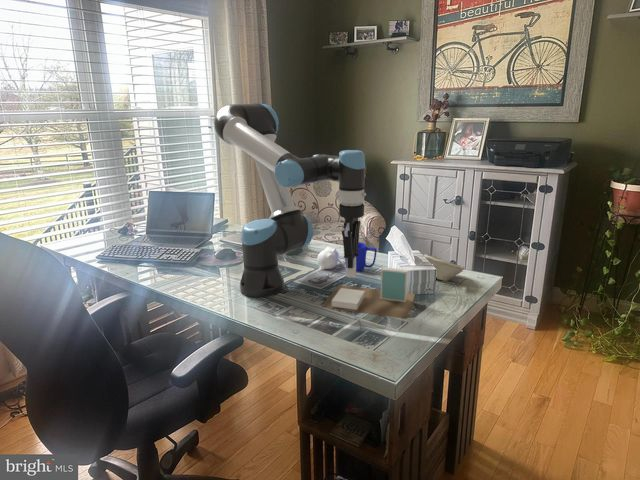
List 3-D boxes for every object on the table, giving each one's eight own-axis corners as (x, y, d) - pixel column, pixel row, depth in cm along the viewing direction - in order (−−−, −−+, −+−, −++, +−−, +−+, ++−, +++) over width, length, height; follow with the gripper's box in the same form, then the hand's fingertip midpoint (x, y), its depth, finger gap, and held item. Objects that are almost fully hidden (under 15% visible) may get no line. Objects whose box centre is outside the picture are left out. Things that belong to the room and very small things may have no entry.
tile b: (380, 299, 141) (381, 269, 138) (381, 296, 143) (382, 267, 140) (405, 302, 139) (407, 272, 136) (406, 299, 141) (408, 269, 138)
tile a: (341, 294, 146) (331, 306, 137) (341, 287, 145) (331, 300, 136) (364, 297, 143) (357, 310, 134) (365, 290, 142) (357, 303, 133)
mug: (375, 275, 164) (375, 249, 161) (342, 273, 166) (342, 248, 163) (377, 267, 171) (377, 242, 168) (345, 266, 174) (345, 241, 171)
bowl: (472, 282, 156) (474, 255, 153) (443, 291, 149) (445, 263, 146) (440, 269, 169) (442, 244, 166) (412, 277, 162) (413, 250, 159)
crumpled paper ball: (328, 239, 176) (323, 247, 164) (351, 254, 175) (347, 263, 164) (317, 256, 178) (310, 266, 167) (339, 271, 178) (334, 282, 167)
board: (321, 310, 137) (321, 306, 137) (338, 287, 153) (338, 284, 153) (406, 322, 129) (406, 318, 128) (415, 297, 145) (415, 293, 145)
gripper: (358, 208, 126) (357, 285, 133) (369, 199, 138) (367, 270, 145) (333, 207, 129) (333, 282, 136) (345, 198, 141) (345, 268, 148)
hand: (351, 276), depth 141 cm, fingers closed
